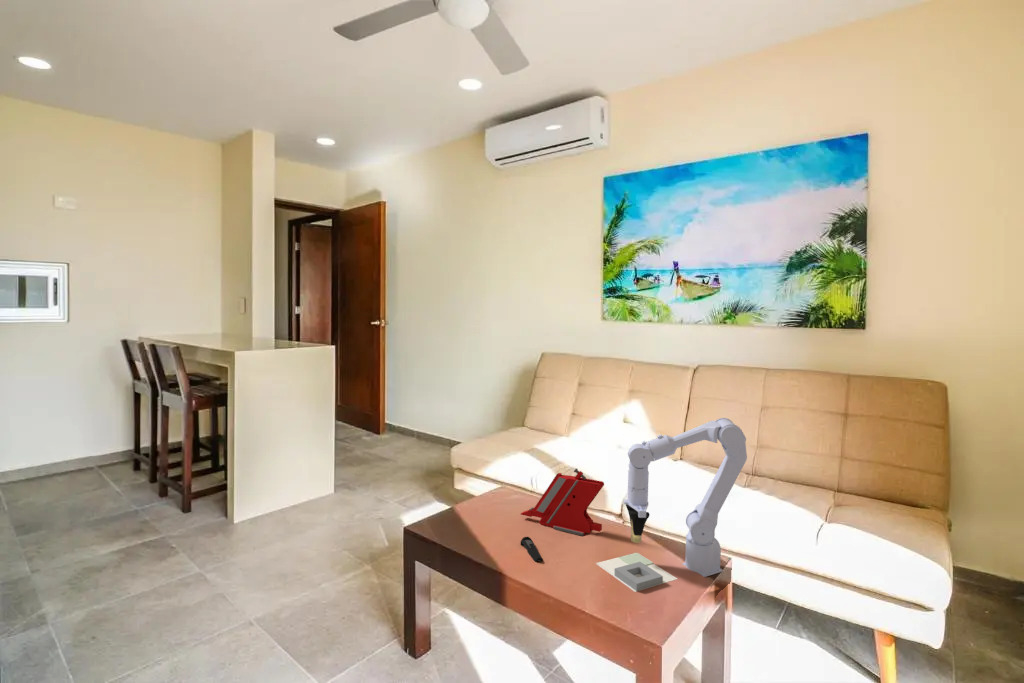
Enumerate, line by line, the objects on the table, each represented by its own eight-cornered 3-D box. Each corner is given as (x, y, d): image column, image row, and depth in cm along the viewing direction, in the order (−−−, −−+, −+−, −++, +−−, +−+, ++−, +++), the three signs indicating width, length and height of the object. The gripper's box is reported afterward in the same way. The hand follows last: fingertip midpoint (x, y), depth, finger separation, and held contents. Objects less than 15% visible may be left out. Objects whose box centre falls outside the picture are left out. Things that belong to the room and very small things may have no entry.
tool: (516, 517, 182) (546, 453, 174) (524, 510, 187) (553, 448, 179) (581, 564, 172) (617, 499, 164) (587, 556, 177) (622, 492, 169)
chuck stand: (635, 555, 157) (636, 546, 157) (677, 582, 142) (678, 571, 142) (595, 566, 151) (595, 556, 150) (634, 595, 136) (635, 584, 135)
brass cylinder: (629, 538, 153) (630, 514, 153) (640, 538, 153) (640, 515, 153) (631, 542, 150) (632, 518, 150) (642, 542, 150) (643, 519, 150)
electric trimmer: (533, 568, 150) (533, 557, 150) (519, 544, 165) (519, 534, 165) (545, 567, 151) (545, 556, 151) (530, 543, 166) (531, 533, 165)
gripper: (619, 478, 158) (618, 521, 159) (628, 494, 144) (627, 542, 145) (643, 478, 158) (642, 522, 159) (654, 495, 144) (652, 543, 144)
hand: (636, 532), depth 152 cm, fingers closed on brass cylinder, 3 cm apart
